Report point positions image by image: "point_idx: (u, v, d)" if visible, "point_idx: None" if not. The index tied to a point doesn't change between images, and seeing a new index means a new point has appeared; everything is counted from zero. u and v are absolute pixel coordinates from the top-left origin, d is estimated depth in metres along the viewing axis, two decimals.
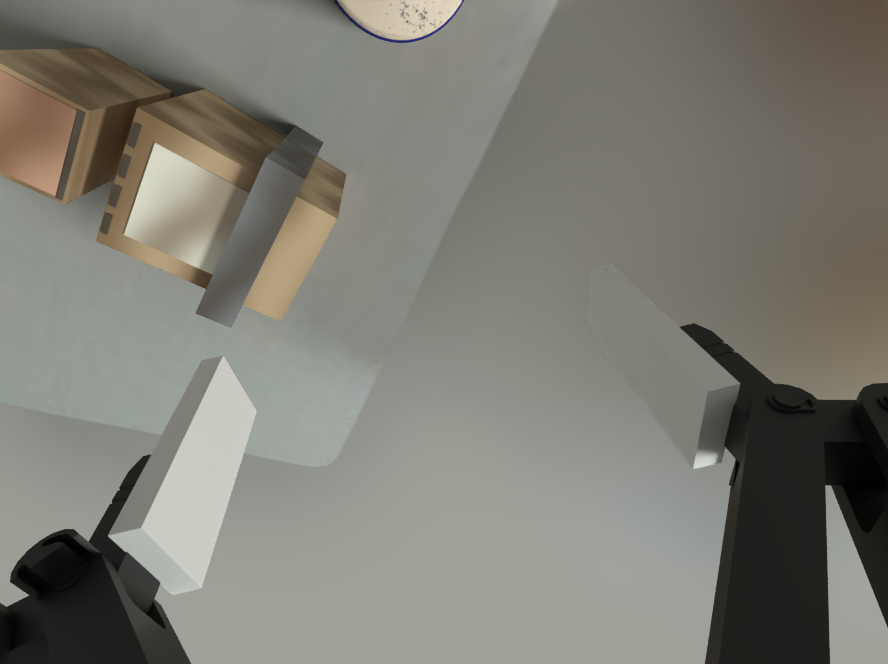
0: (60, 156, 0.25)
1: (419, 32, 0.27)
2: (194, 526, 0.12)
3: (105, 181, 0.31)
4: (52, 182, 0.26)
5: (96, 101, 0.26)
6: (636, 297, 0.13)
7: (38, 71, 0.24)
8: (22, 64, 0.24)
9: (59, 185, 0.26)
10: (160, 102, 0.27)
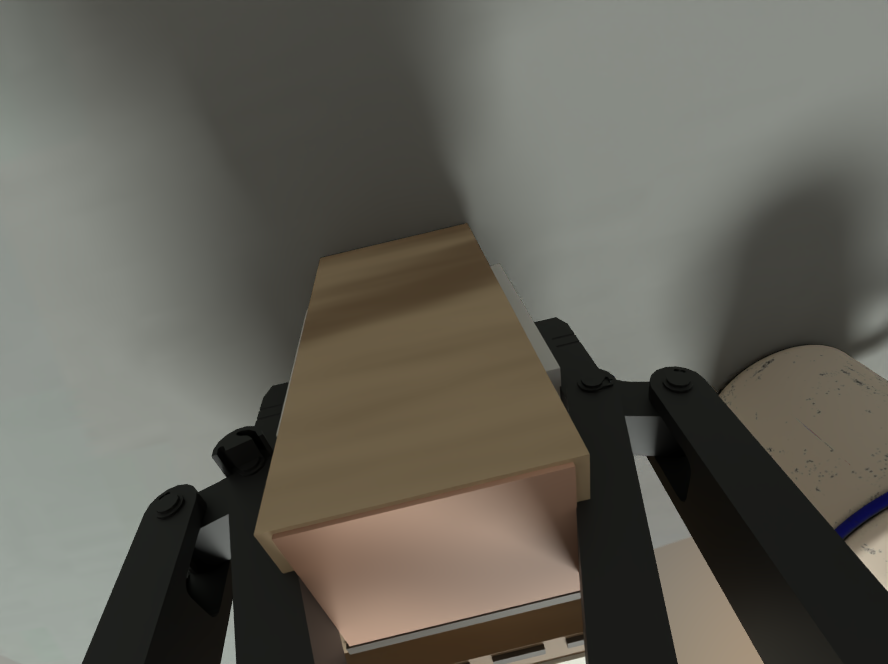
0: (451, 610, 0.10)
1: None
2: None
3: None
4: (379, 632, 0.10)
5: None
6: (508, 294, 0.15)
7: None
8: None
9: (382, 637, 0.10)
10: None
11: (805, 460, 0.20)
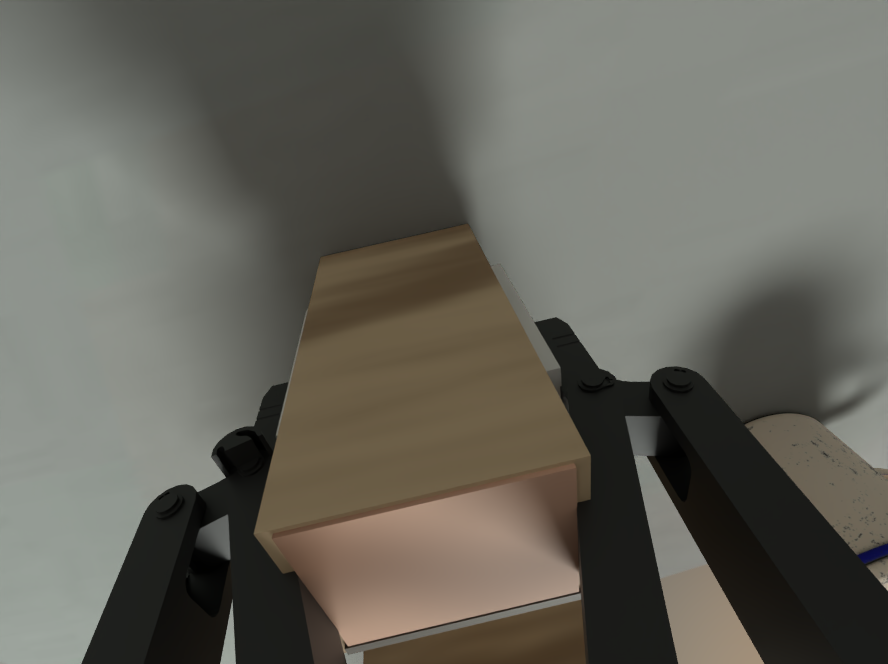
0: (449, 611, 0.10)
1: None
2: None
3: None
4: (378, 633, 0.10)
5: None
6: (509, 294, 0.15)
7: None
8: None
9: (380, 638, 0.10)
10: None
11: None
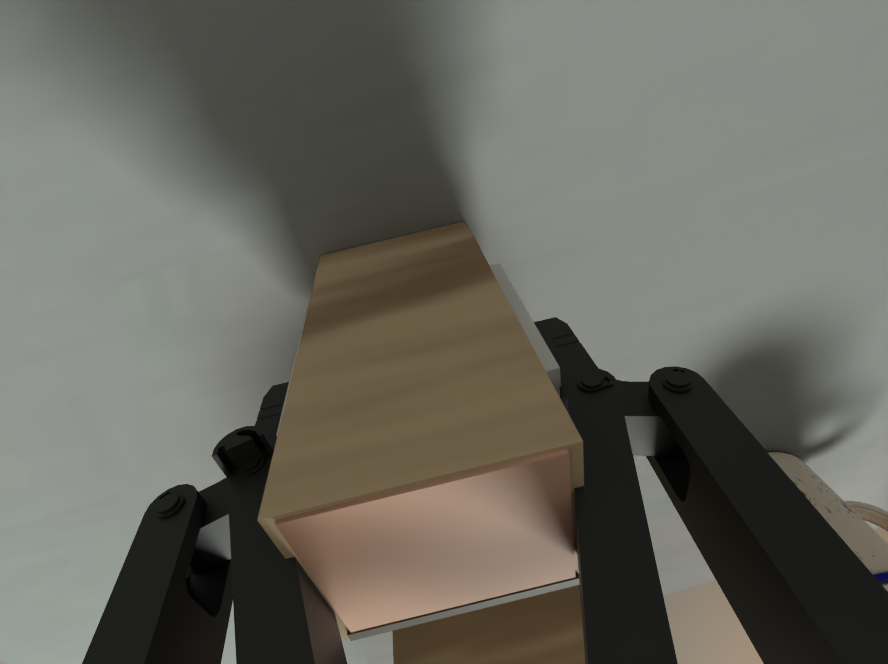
0: (449, 597, 0.10)
1: None
2: None
3: None
4: (379, 619, 0.10)
5: None
6: (508, 294, 0.15)
7: None
8: None
9: (382, 624, 0.10)
10: None
11: None
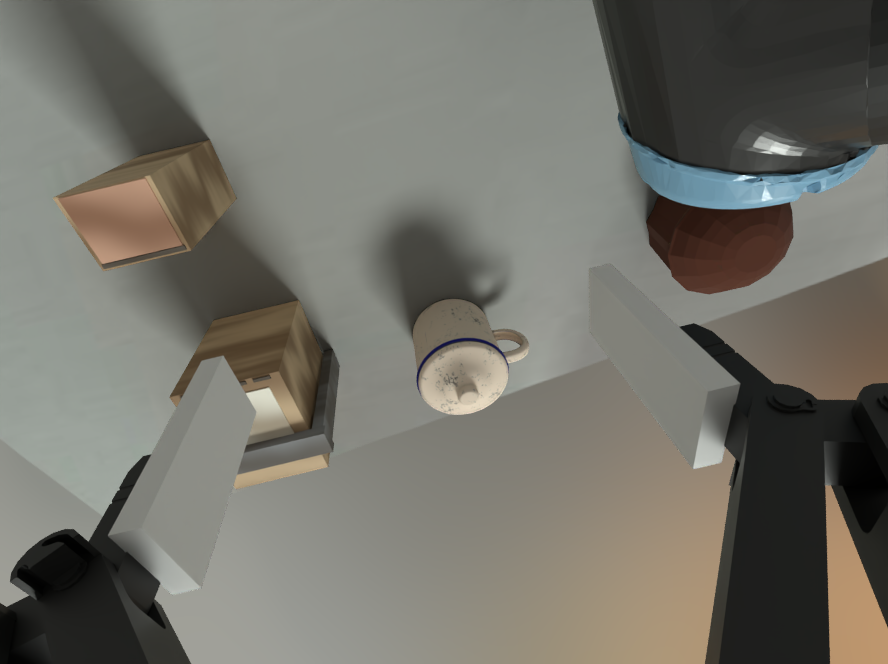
0: (136, 251, 0.29)
1: (442, 411, 0.45)
2: (194, 526, 0.12)
3: None
4: (111, 257, 0.29)
5: (196, 233, 0.31)
6: (636, 297, 0.13)
7: (175, 195, 0.29)
8: (168, 188, 0.29)
9: (114, 261, 0.29)
10: (284, 350, 0.38)
11: (421, 347, 0.45)
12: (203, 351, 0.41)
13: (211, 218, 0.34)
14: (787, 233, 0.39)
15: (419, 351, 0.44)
